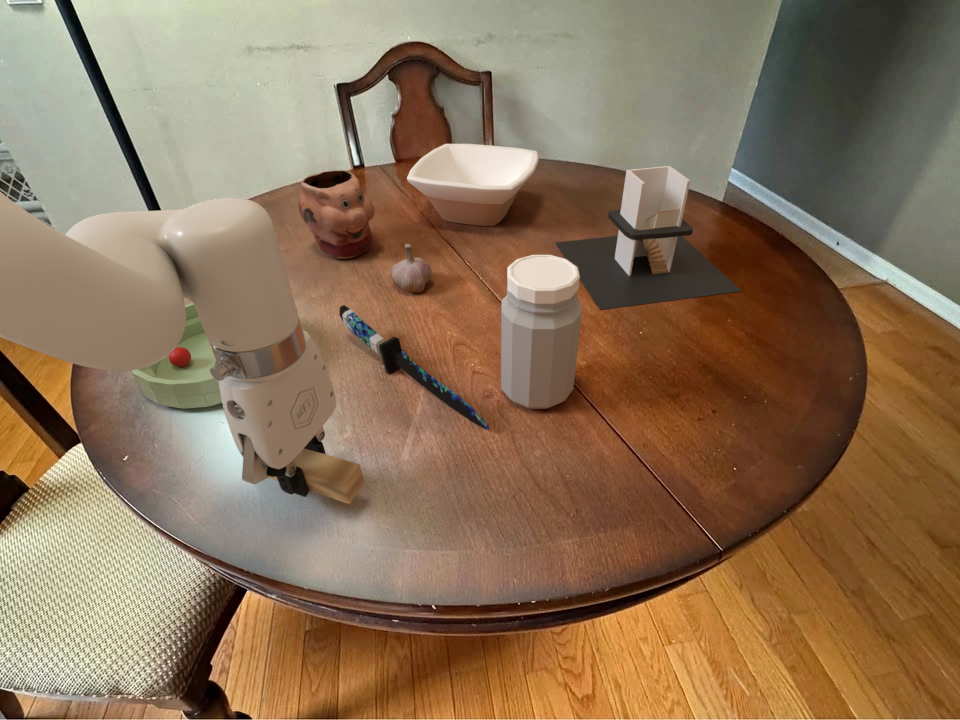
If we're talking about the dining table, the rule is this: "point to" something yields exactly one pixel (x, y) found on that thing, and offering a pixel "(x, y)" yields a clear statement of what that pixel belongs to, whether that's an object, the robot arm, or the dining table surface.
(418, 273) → the garlic bulb
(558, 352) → the jar
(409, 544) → the dining table surface
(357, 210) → the decorative planter
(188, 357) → the tomato
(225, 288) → the robot arm
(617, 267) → the model building
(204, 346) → the shallow round dish
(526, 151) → the bowl
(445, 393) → the knife
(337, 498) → the stick
